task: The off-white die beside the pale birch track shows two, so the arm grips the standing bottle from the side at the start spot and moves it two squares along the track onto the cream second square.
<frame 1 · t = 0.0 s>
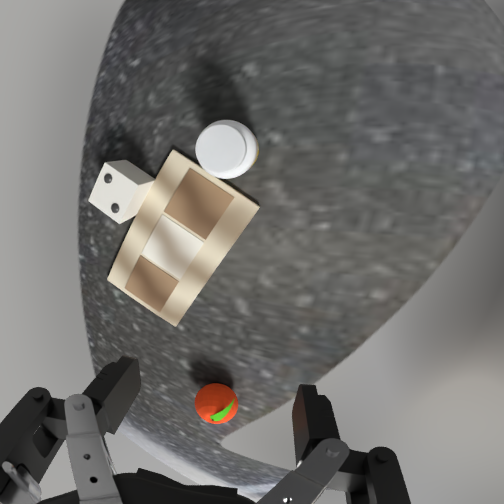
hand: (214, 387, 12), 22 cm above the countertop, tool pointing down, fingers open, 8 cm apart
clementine: (221, 386, 42), on the countertop
supplement bottle: (235, 149, 30), on the countertop
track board: (172, 246, 34), on the countertop
die: (132, 186, 31), on the countertop
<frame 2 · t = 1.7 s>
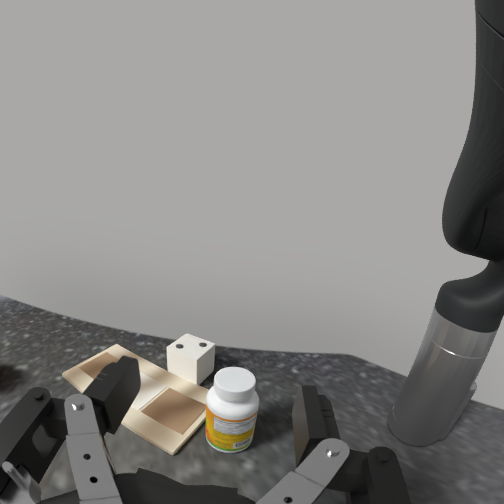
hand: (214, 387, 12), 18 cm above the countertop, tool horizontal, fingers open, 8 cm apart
supplement bottle: (228, 438, 27), on the countertop
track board: (136, 391, 32), on the countertop
die: (191, 372, 38), on the countertop
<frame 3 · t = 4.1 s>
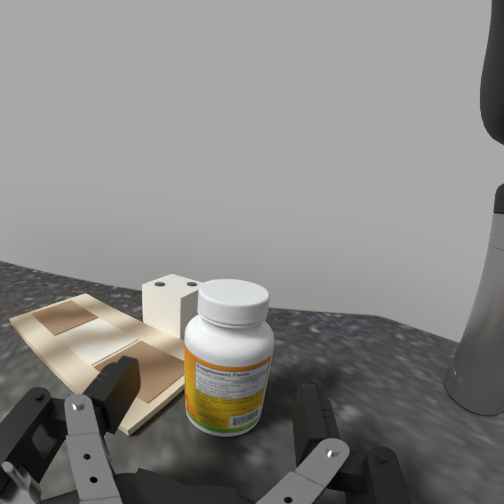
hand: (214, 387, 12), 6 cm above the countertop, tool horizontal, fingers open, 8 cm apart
supplement bottle: (222, 414, 18), on the countertop
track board: (96, 344, 22), on the countertop
die: (175, 326, 29), on the countertop
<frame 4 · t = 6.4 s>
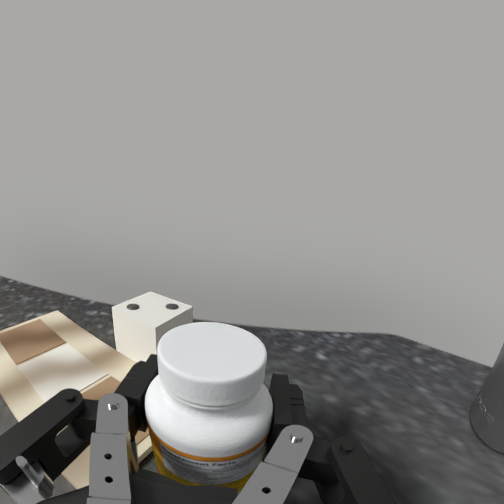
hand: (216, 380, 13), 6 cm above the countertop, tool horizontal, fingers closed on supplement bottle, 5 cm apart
supplement bottle: (207, 478, 12), on the countertop, touching gripper
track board: (61, 377, 17), on the countertop
die: (154, 355, 23), on the countertop
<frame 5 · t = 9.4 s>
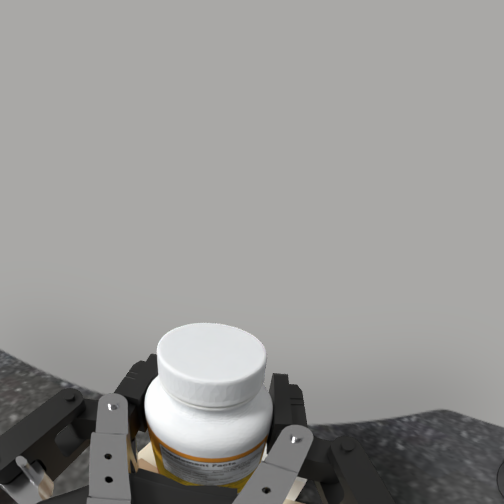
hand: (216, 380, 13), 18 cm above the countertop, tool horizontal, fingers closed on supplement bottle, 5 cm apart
supplement bottle: (207, 478, 12), point 11 cm above the countertop, touching gripper
die: (277, 479, 21), on the countertop
when the fingers open (8 cm above the countertop, at t = 12.6 s): supplement bottle drops 1 cm, resting on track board.
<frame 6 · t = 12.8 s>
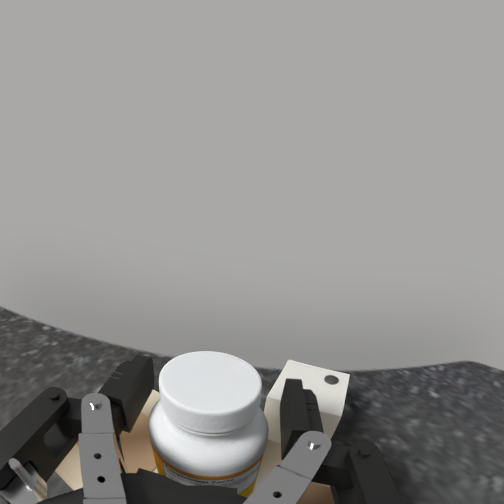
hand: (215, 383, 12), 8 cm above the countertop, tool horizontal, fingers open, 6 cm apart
supplement bottle: (207, 489, 12), point 1 cm above the countertop, touching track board
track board: (206, 490, 12), on the countertop
die: (297, 429, 19), on the countertop
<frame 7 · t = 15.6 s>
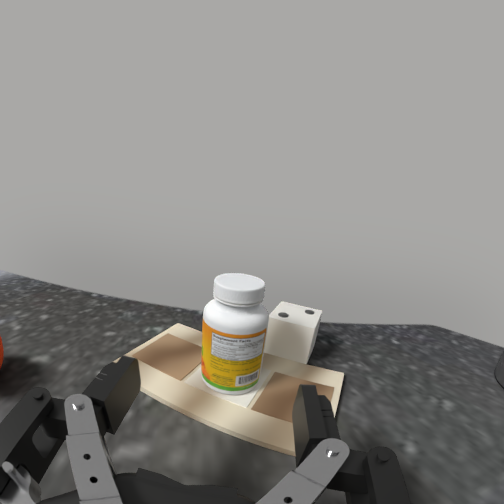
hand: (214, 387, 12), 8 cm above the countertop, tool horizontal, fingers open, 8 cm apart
supplement bottle: (229, 379, 24), resting on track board
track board: (229, 382, 24), on the countertop
die: (289, 351, 31), on the countertop
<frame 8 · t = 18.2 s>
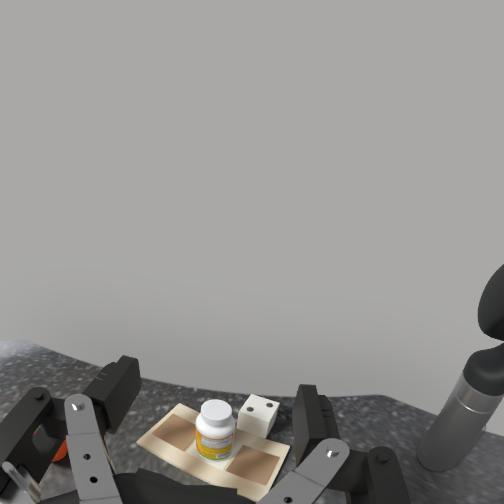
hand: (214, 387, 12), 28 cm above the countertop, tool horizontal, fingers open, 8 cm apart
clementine: (56, 455, 23), on the countertop
supplement bottle: (214, 450, 33), resting on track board
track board: (213, 451, 34), on the countertop
die: (256, 426, 40), on the countertop
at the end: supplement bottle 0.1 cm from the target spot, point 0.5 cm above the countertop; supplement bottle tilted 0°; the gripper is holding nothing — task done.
